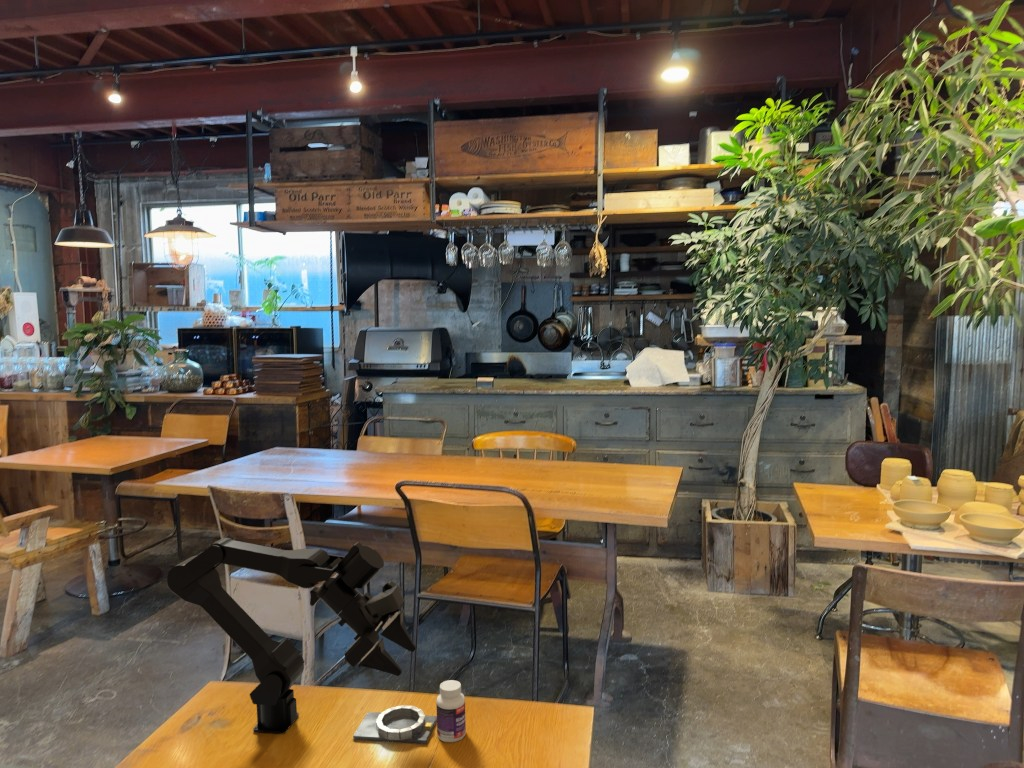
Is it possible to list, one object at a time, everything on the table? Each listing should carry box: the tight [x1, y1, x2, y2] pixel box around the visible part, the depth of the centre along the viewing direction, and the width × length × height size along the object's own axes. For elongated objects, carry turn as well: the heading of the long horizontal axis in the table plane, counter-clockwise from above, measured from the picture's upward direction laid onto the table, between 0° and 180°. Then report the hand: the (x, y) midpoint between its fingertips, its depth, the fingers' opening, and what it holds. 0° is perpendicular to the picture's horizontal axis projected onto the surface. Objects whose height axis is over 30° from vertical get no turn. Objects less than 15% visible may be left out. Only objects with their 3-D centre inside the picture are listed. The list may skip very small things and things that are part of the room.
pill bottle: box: [435, 679, 467, 743], centre depth 128 cm, size 5×5×10 cm
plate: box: [352, 711, 437, 745], centre depth 130 cm, size 14×8×1 cm, turn 82°
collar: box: [376, 704, 432, 740], centre depth 130 cm, size 10×9×2 cm
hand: (407, 661), depth 128 cm, fingers open, 9 cm apart
